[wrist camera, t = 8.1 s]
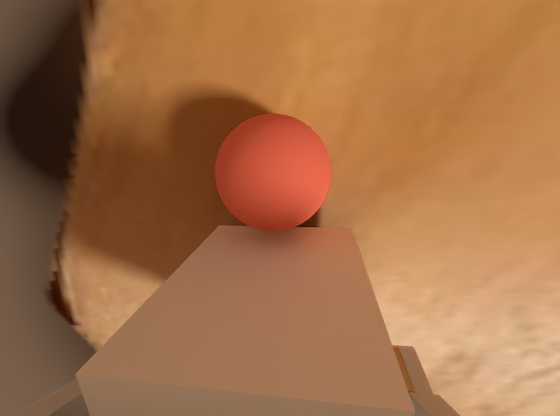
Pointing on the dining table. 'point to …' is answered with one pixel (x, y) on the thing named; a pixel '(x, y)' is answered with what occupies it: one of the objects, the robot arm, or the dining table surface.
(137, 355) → the beige tapered block
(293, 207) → the ball
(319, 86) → the dining table surface
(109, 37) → the dining table surface
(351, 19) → the dining table surface
